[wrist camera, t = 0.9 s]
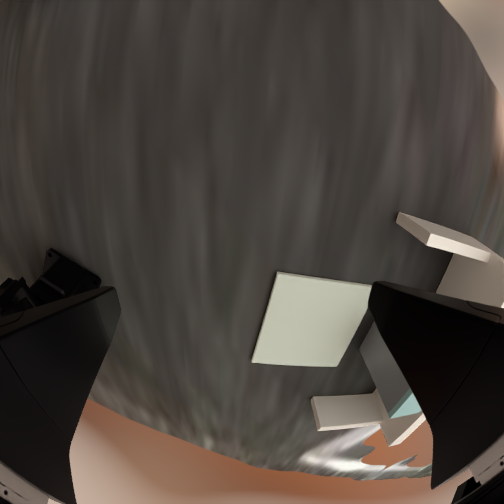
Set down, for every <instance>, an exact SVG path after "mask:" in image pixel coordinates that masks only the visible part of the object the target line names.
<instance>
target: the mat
mask: <svg viewBox="0 0 504 504" xmlns="http://www.w3.org/2000/svg"><path fill="white" fill-rule="evenodd" d="M371 287H372V285H368V284H361V283H353V282H346V281H339V280H332V279H325V278H318V277H311V276H304V275H298V274H291V273H284V272H277V274H276V278H275V281H274V285H273V288H272V292H271V295H270V299H269V302H268V306H267V309H266V313H265V316H264V319H263V323H262V326H261V330H260V333H259V336H258V340H257V343H256V346H255V350H254V353H253V356H252V359H251V361H252V362H253V363H265V364H278V365H295V366H324V367H337V365H338V363H339V362H340V360H341V358H342V356H343V355H344V353H345V351H346V349H347V347H348V345H349V344H350V342H351V340H352V338H353V336H354V334H355V332H356V330H357V328H358V326H359V324H360V322H361V320H362V318H363V316H364V314H365V312H366V310H367V308H368V299H369V295H370V291H371Z"/></svg>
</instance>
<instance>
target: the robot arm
mask: <svg viewBox="0 0 504 504" xmlns="http://www.w3.org/2000/svg"><path fill="white" fill-rule="evenodd" d="M50 253H51V254H52V255H51V254H50ZM94 280H95V281H96V282H97V283H96V282H95V281H94ZM25 282H26V281H25V279H24V278H23V277H21V278H20V279H19V280H18V281H17V280H13V279H11V278H8V279H7V280H6V281H5V282H3V283H2V284H1V285H0V504H47V503H48V499H49V498H50V499H52V500H54V501H56V502H59V503H61V504H77V503H76V499H75V493H74V488H73V482H72V475H71V468H70V460H69V450H70V445H71V441H72V439H73V436H74V433H75V430H76V427H77V425H78V422H79V419H80V416H81V414H82V411H83V408H84V405H85V403H86V400H87V398H88V395H89V393H90V390H91V388H92V385H93V383H94V381H95V378H96V376H97V373H98V371H99V369H100V366H101V364H102V362H103V359H104V357H105V355H106V353H107V351H108V348H109V346H110V343H111V341H112V338H113V335H114V331H115V328H116V325H117V322H118V319H119V316H120V312H121V308H120V303H119V300H118V296H117V292H116V289H115V288H114V287H111V286H104V287H100V285H101V279H100V278H99V277H98V276H96V275H94V274H92V273H91V272H89V271H87V270H86V269H84V268H82V267H81V266H79V265H77V264H76V263H74V262H72V261H71V260H69V259H68V258H66V257H64V256H63V255H61V254H60V253H58V252H57V251H55V250H54V249H49V250H48V251H47V252H46V257H45V263H44V269H43V274H42V275H41V276H40V278H39V279H38V280H37V281H36V282H35V283H34V284H33V285H32V286H31V287H30V288H29V287H28V286H27V284H26V283H25ZM368 308H369V311H370V313H371V315H372V317H373V320H374V322H375V324H376V326H377V329H378V331H379V333H380V335H381V337H382V339H383V341H384V342H385V344H386V346H387V348H388V349H389V351H390V353H391V354H392V356H393V358H394V360H395V361H396V363H397V365H398V367H399V369H400V370H401V372H402V374H403V376H404V378H405V379H406V381H407V383H408V385H409V387H410V389H411V391H412V392H413V394H414V396H415V398H416V400H417V402H418V404H419V406H420V408H421V410H422V412H423V414H424V416H425V418H426V420H427V422H428V423H429V425H430V428H431V431H432V435H433V460H432V475H431V489H432V490H433V489H435V488H437V487H439V486H440V485H442V484H444V483H446V482H448V481H450V480H451V479H453V478H455V477H457V476H458V475H460V474H462V473H463V472H465V471H467V470H468V469H470V470H471V472H472V475H473V477H471V478H470V479H468V480H467V481H466V482H464V483H462V484H461V485H460V486H458V488H457V490H456V493H455V495H454V498H453V500H452V503H451V504H504V308H500V307H496V306H491V305H486V304H482V303H477V302H473V301H468V300H463V299H458V298H454V297H450V296H446V295H441V294H437V293H433V292H428V291H424V290H420V289H416V288H411V287H407V286H403V285H398V284H394V283H390V282H386V281H376V282H374V283H373V284H372V287H371V291H370V295H369V299H368Z"/></svg>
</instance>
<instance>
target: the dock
mask: <svg viewBox="0 0 504 504" xmlns="http://www.w3.org/2000/svg"><path fill="white" fill-rule="evenodd" d="M396 223H397V224H399V225H400V226H401V227H403V228H404V229H405V230H407V231H408V232H409V233H411V234H412V235H413V236H415V237H416V238H417V239H419V240H420V241H421V242H423V243H424V244H425V245H427V246H430V247H434V248H438V249H442V250H445V251H449V252H452V253H454V254H453V256H452V258H451V261H450V263H449V265H448V268H447V270H446V272H445V274H444V276H443V278H442V281H441V283H440V285H439V287H438V289H437V291H436V293H437V294H441V295H446V296H450V297H454V298H458V299H463V300H468V301H473V302H477V303H482V304H486V305H491V306H496V307H500V308H504V259H503V258H501V257H500V256H499V255H497V254H496V253H494V252H493V251H492V250H490V249H489V248H487V247H486V246H485V245H483V244H482V243H480V242H479V241H477V240H476V239H474V238H473V237H471V236H468V235H466V234H463V233H460V232H458V231H455V230H452V229H449V228H447V227H444V226H441V225H438V224H435V223H432V222H429V221H426V220H423V219H420V218H417V217H414V216H411V215H407V214H404V213H401V212H399V214H398V217H397V219H396ZM310 401H311V405H312V409H313V413H314V417H315V422H316V426H317V430H318V431H324V430H336V429H346V428H355V427H363V426H370V425H376V424H380V426H381V428H382V431H383V433H384V436H385V439H386V442H387V444H388V447H389V446H393V445H396V444H400V443H401V442H402V441H403V440H404V439H405V438H407V437H408V436H409V435H410V434H411V433H412V432H413V431H414V430H415V429H416V428H417V427H418V426H419V425H420V424H422V422H423V421H425V420H426V418H425V416H424V414H423V412H422V410H421V411H420V412H419V413H415V414H411V415H406V416H401V417H396V418H389V416H388V413H387V411H386V409H385V406H384V404H383V402H382V399H381V397H380V395H379V392H378V390H377V388H376V389H375V391H374V392H373V393H372V394H359V395H342V396H313V397H312V399H311V400H310Z"/></svg>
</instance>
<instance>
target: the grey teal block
mask: <svg viewBox="0 0 504 504" xmlns="http://www.w3.org/2000/svg"><path fill="white" fill-rule="evenodd" d="M359 351H360V353H361V355H362V357H363V359H364V362H365V364H366V366H367V368H368V370H369V372H370V375H371V377H372V379H373V381H374V383H375V386H376V388H377V390H378V392H379V395H380V397H381V399H382V402H383V404H384V406H385V409H386V411H387V413H388V416H389V418H396V417H401V416H406V415H411V414H415V413H419V412H420V411H421V408H420V406H419V404H418V402H417V400H416V398H415V396H414V394H413V392H412V391H411V389H410V387H409V385H408V383H407V381H406V379H405V378H404V376H403V374H402V372H401V370H400V369H399V367H398V365H397V363H396V361H395V360H394V358H393V356H392V354H391V353H390V351H389V349H388V348H387V346H386V344H385V342H384V341H383V339H382V337H381V335H380V333H379V331H378V329H377V326H376V324H375V322H373V324H372V326H371V328H370V330H369V332H368V333H367V335H366V337H365V339H364V341H363V343H362V344H361V346H360V348H359Z"/></svg>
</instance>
